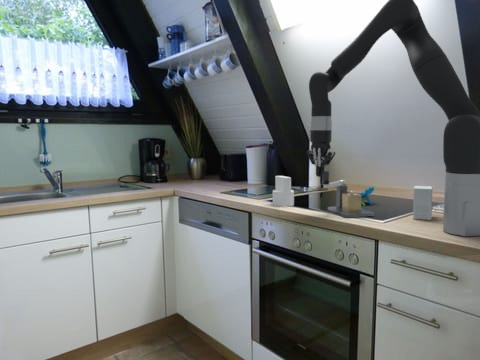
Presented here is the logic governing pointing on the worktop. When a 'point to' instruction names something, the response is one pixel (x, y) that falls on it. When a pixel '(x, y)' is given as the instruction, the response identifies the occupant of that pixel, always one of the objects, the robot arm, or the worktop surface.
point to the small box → (422, 202)
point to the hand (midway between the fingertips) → (319, 176)
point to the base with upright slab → (283, 192)
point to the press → (343, 213)
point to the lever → (328, 185)
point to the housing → (351, 202)
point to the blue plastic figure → (366, 195)
